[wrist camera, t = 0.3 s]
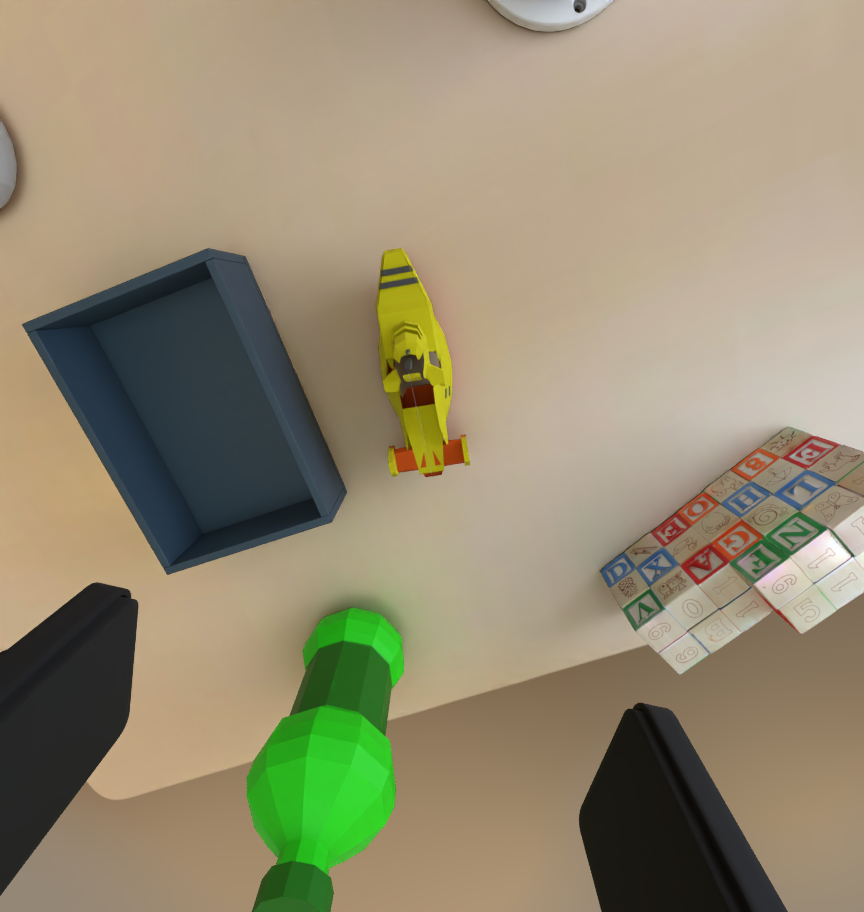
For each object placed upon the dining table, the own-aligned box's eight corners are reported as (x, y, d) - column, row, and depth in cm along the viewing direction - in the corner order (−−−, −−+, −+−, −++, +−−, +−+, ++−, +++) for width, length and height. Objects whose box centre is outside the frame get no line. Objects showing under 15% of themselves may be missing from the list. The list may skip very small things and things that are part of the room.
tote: (84, 320, 42) (20, 324, 36) (245, 255, 40) (208, 247, 34) (203, 539, 48) (167, 575, 42) (347, 492, 46) (332, 522, 40)
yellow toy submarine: (400, 467, 45) (388, 512, 36) (359, 262, 40) (334, 250, 31) (468, 457, 45) (475, 499, 35) (437, 247, 40) (435, 231, 30)
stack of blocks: (636, 609, 49) (696, 705, 38) (597, 569, 48) (647, 656, 36) (826, 471, 45) (963, 532, 33) (789, 423, 43) (917, 468, 32)
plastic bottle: (320, 675, 53) (219, 983, 29) (305, 590, 50) (179, 858, 26) (412, 671, 52) (387, 980, 29) (404, 585, 49) (368, 853, 25)
